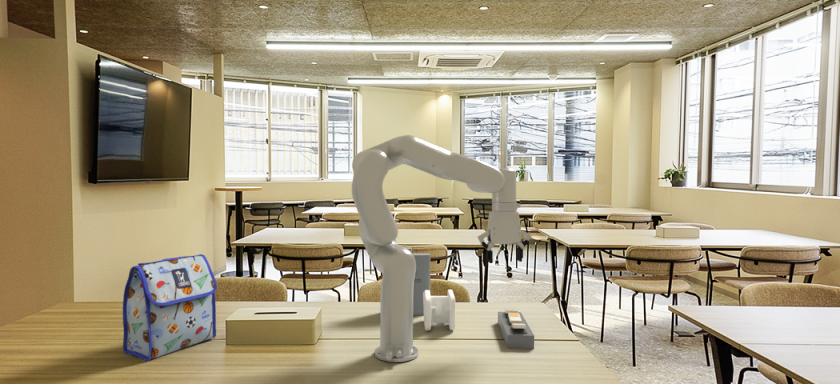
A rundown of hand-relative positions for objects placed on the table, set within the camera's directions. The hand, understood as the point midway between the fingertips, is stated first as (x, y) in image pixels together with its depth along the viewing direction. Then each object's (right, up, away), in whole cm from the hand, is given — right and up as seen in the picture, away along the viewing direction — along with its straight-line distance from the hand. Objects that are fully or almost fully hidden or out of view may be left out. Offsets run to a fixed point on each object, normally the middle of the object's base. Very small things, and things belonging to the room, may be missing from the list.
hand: (504, 261), depth 153 cm
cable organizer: (-20, -25, +14) cm, 35 cm away
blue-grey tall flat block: (-32, -24, +29) cm, 49 cm away
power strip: (+4, -25, +10) cm, 27 cm away
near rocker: (+4, -20, -2) cm, 20 cm away
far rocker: (+5, -19, +14) cm, 24 cm away
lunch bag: (-101, -25, -8) cm, 105 cm away
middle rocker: (+4, -19, +6) cm, 21 cm away
